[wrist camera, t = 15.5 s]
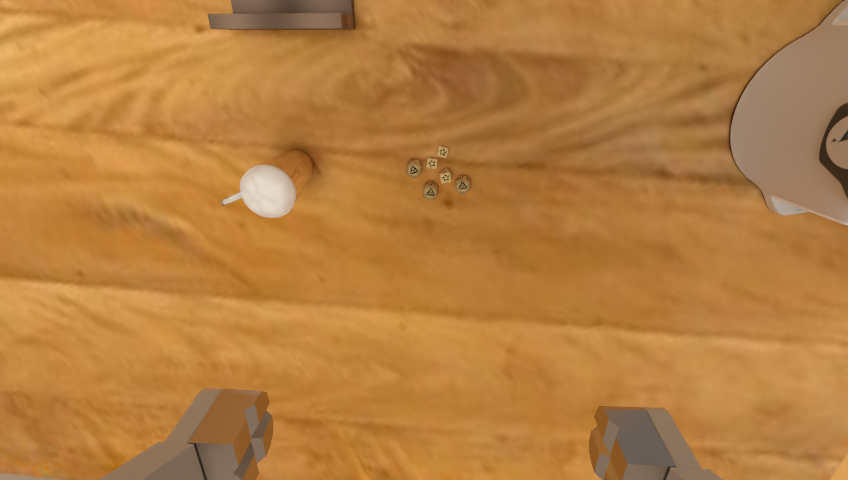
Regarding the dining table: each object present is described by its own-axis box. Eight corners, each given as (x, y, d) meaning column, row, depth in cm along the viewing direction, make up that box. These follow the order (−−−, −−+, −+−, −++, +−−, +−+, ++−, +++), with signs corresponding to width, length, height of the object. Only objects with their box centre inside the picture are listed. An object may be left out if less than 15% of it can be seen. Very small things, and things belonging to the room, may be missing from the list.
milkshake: (261, 145, 42) (211, 175, 33) (315, 140, 42) (280, 169, 33) (273, 190, 44) (229, 229, 35) (324, 185, 43) (293, 224, 34)
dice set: (471, 184, 44) (473, 190, 42) (425, 203, 45) (425, 210, 43) (452, 138, 42) (452, 142, 40) (404, 159, 43) (402, 164, 41)
